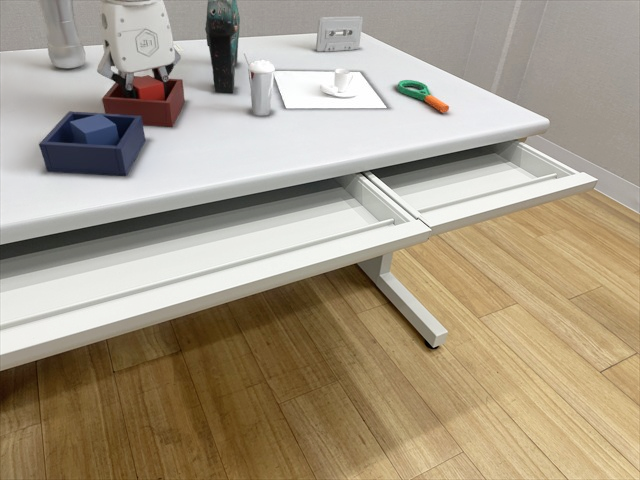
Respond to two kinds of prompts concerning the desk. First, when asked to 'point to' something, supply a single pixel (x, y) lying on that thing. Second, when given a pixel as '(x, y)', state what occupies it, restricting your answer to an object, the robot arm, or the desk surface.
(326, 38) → the cassette
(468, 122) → the desk surface
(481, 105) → the desk surface
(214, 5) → the power drill
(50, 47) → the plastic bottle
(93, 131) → the blue block
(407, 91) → the magnifying glass
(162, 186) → the desk surface
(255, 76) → the milkshake
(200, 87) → the desk surface
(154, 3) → the robot arm
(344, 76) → the teacup and saucer
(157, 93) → the red block
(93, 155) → the blue bin
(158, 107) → the red bin
